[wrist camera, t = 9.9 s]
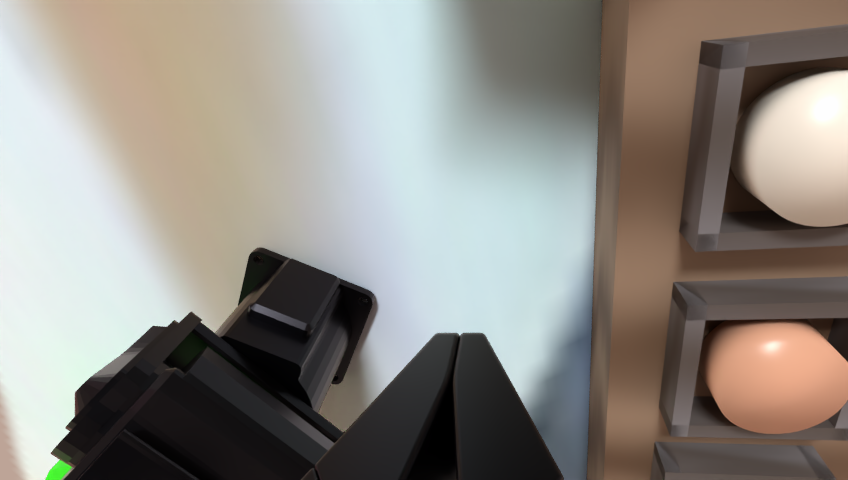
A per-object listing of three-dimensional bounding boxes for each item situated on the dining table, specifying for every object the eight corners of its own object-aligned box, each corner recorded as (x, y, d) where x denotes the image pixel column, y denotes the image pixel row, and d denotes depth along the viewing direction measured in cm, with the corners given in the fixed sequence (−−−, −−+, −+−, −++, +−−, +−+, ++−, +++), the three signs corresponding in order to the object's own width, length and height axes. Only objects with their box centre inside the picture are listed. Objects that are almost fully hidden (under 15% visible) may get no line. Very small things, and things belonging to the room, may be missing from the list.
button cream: (864, 198, 14) (910, 222, 13) (720, 206, 15) (746, 230, 14) (905, 58, 13) (964, 66, 11) (740, 75, 13) (772, 85, 12)
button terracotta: (806, 396, 18) (837, 435, 16) (691, 395, 19) (709, 432, 17) (832, 308, 16) (869, 341, 14) (704, 310, 17) (725, 342, 15)
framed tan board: (778, 490, 26) (842, 603, 21) (586, 482, 28) (605, 584, 23) (941, -71, 15) (1159, -107, 10) (603, -22, 17) (645, -32, 12)
